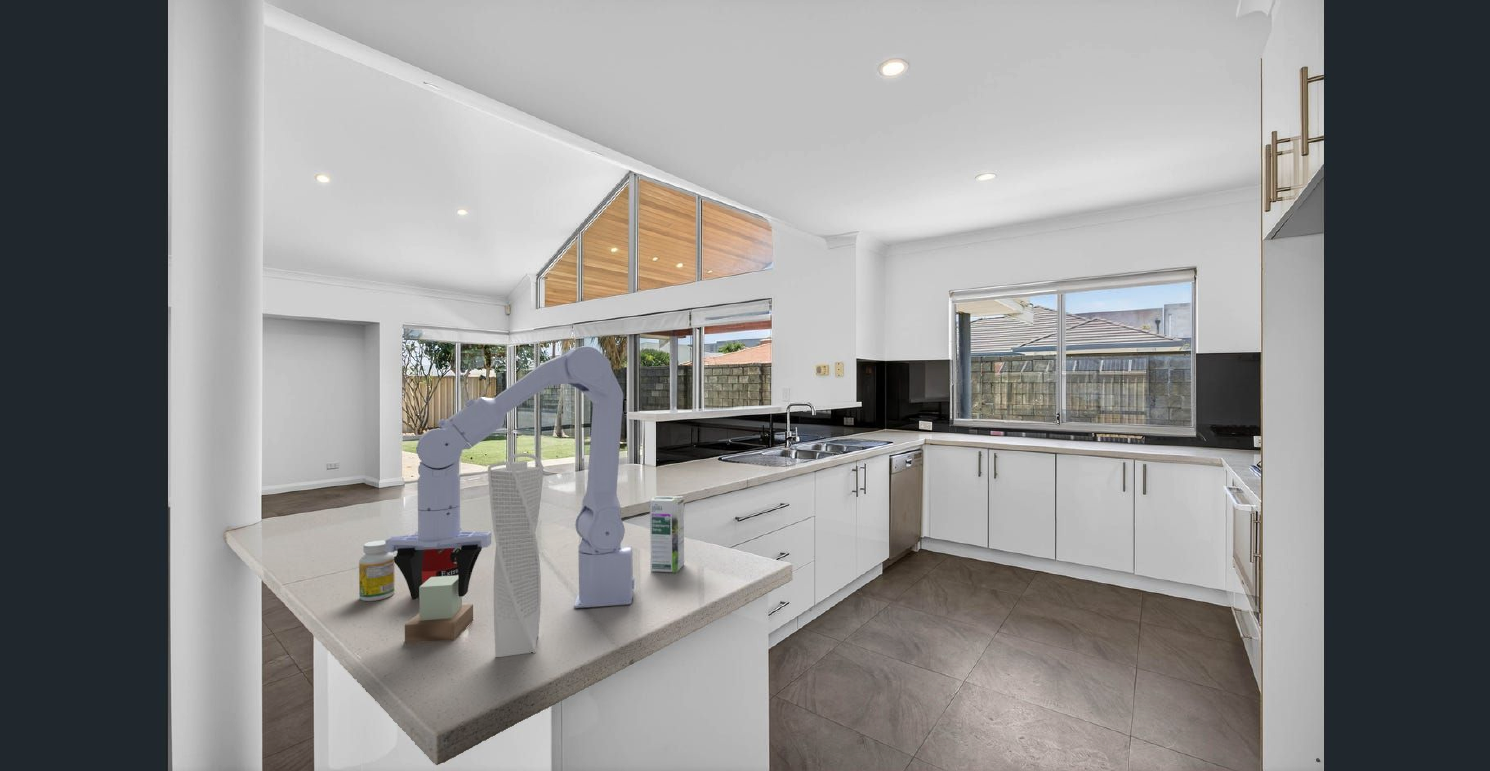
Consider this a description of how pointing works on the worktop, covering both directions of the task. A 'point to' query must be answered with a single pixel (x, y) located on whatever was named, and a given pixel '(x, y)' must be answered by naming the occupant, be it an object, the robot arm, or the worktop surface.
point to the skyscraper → (516, 554)
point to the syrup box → (667, 533)
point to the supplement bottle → (376, 572)
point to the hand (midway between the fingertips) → (440, 595)
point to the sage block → (439, 598)
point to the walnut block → (438, 627)
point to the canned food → (439, 563)
